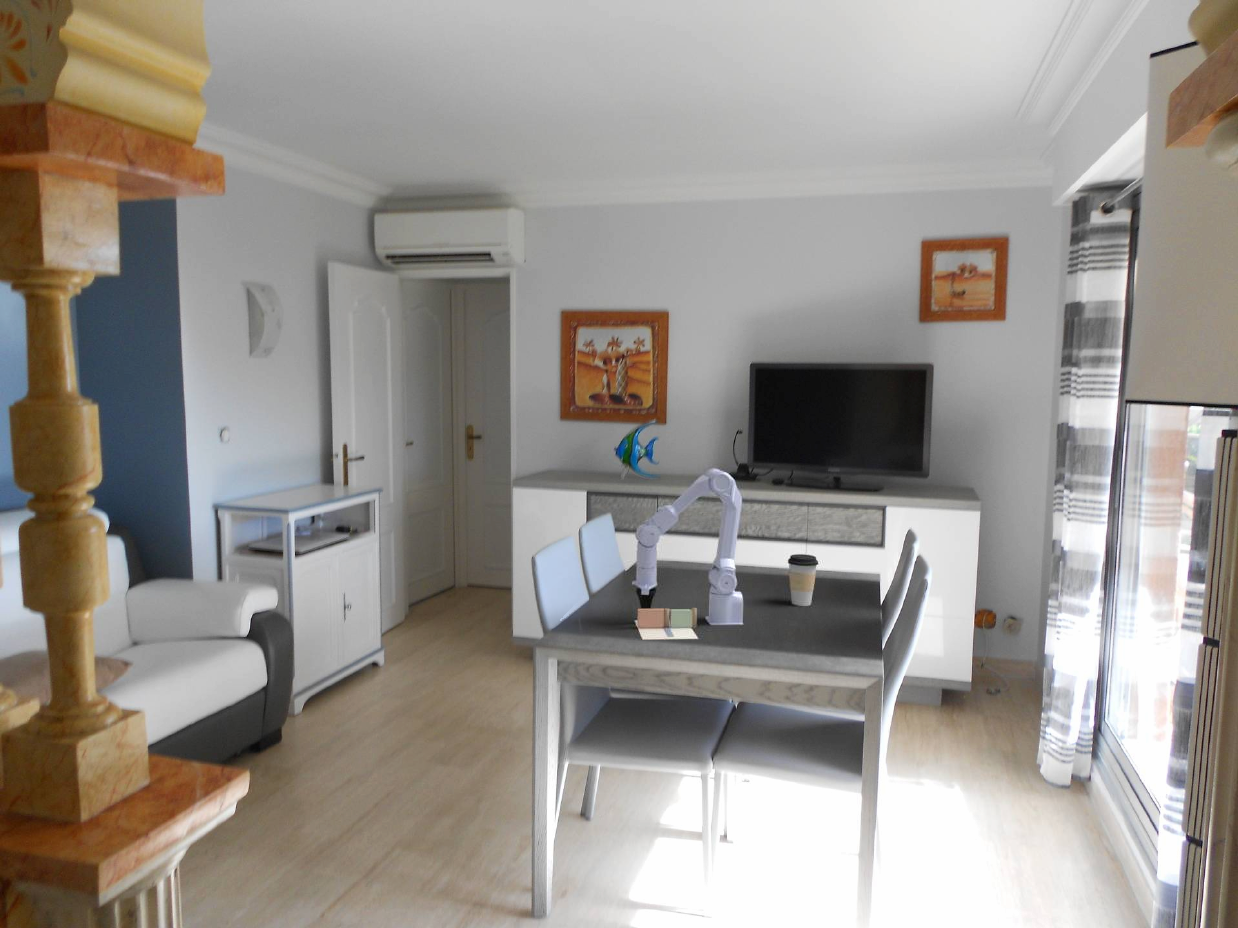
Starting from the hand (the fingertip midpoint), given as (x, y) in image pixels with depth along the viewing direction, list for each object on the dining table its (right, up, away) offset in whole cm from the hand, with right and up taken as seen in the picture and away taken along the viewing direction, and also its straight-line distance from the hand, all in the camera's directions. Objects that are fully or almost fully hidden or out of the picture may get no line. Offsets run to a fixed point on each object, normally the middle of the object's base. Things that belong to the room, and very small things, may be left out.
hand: (645, 613), depth 250 cm
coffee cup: (+50, -2, +26) cm, 56 cm away
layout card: (+5, -4, -6) cm, 9 cm away
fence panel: (+2, -3, -5) cm, 6 cm away
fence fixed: (+10, -3, -4) cm, 12 cm away
